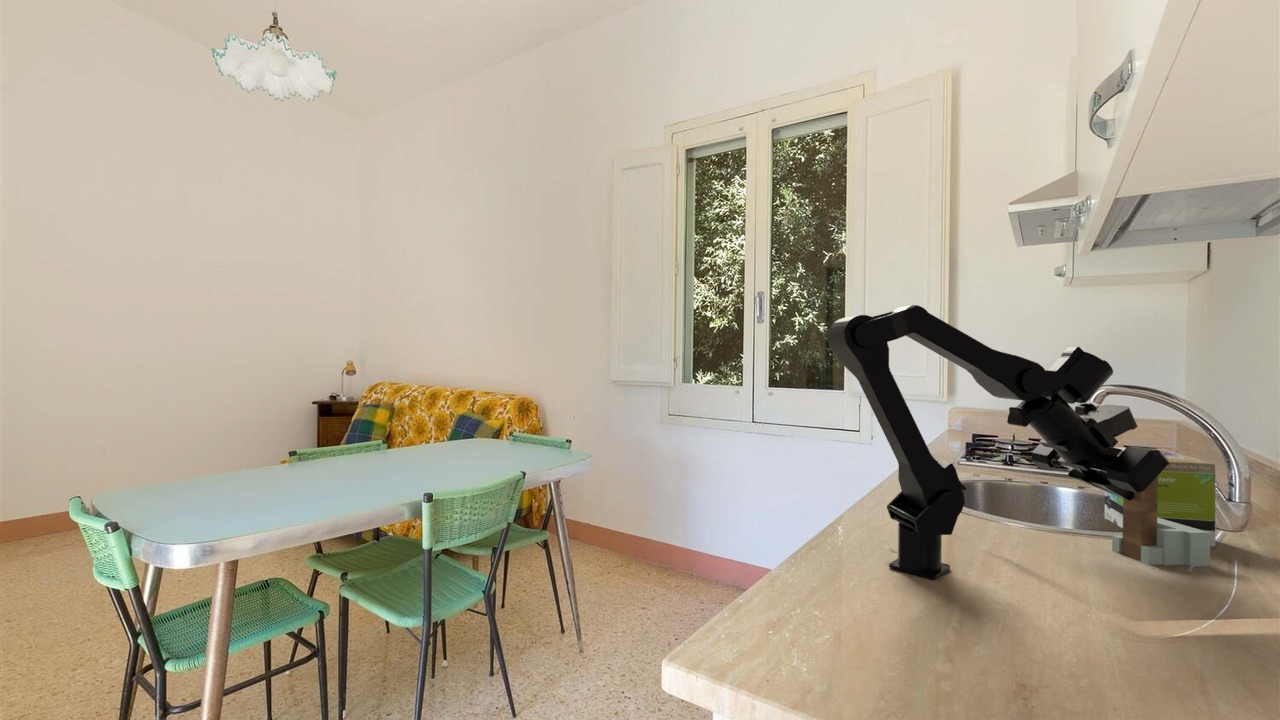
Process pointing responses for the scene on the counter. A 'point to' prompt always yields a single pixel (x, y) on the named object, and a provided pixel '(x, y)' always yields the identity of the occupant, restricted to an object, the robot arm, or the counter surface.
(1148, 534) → the brown wooden post
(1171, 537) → the bracket
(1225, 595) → the counter surface
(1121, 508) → the tea box
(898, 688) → the counter surface
